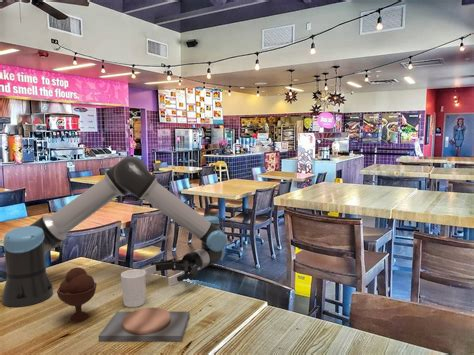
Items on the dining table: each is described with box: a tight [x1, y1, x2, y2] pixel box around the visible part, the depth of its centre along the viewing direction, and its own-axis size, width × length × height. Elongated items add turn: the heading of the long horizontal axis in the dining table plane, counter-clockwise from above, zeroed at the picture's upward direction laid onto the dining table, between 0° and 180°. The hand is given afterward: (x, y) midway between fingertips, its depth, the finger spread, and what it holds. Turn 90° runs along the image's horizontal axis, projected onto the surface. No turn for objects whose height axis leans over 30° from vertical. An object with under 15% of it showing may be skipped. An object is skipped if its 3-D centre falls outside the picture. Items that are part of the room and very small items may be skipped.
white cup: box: [120, 268, 147, 308], centre depth 121 cm, size 8×8×10 cm
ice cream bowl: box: [56, 266, 98, 323], centre depth 111 cm, size 11×11×15 cm
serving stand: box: [98, 306, 191, 342], centre depth 105 cm, size 22×14×3 cm, turn 89°
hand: (154, 277), depth 128 cm, fingers open, 13 cm apart
